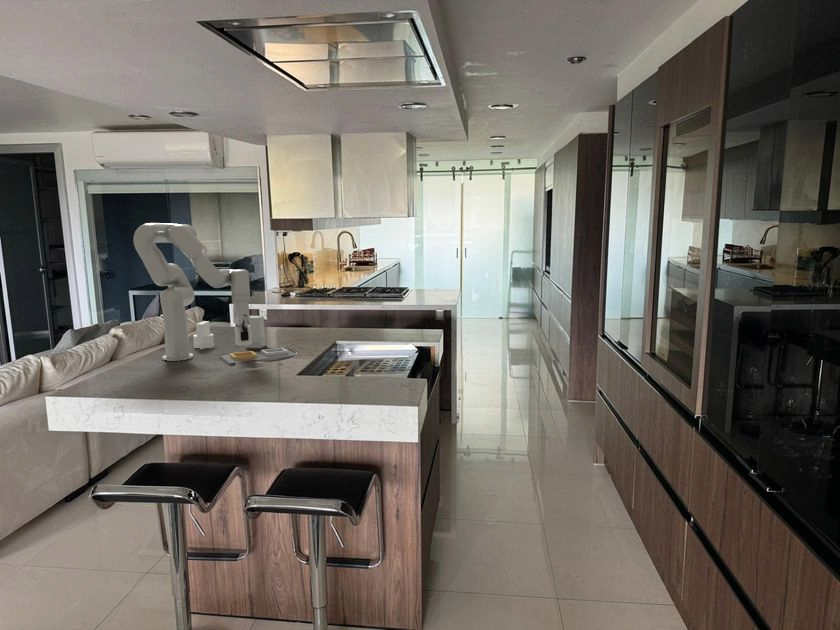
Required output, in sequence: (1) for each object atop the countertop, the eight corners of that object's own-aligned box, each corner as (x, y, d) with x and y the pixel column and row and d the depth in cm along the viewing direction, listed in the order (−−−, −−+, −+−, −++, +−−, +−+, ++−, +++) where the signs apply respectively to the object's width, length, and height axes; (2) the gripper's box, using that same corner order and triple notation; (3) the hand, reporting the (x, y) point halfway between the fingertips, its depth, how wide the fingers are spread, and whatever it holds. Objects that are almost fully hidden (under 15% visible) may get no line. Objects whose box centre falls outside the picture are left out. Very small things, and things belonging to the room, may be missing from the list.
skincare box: (265, 347, 277) (264, 315, 274) (260, 350, 270) (259, 317, 268) (249, 346, 277) (247, 315, 275) (243, 349, 271) (242, 317, 268)
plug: (235, 344, 250) (234, 324, 249) (249, 342, 253) (248, 323, 252) (237, 345, 247) (236, 325, 246) (251, 344, 250) (250, 324, 249)
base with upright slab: (209, 349, 272) (208, 324, 270) (190, 349, 272) (189, 324, 270) (216, 345, 281) (215, 321, 279) (198, 345, 281) (197, 321, 279)
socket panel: (220, 358, 254) (220, 352, 253) (285, 350, 270) (285, 345, 269) (229, 365, 240) (229, 359, 240) (297, 357, 256) (297, 351, 256)
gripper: (227, 296, 252) (229, 337, 255) (237, 300, 238) (239, 343, 241) (244, 295, 256) (246, 335, 259) (255, 299, 242) (257, 341, 245)
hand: (243, 339), depth 250 cm, fingers closed on plug, 4 cm apart
